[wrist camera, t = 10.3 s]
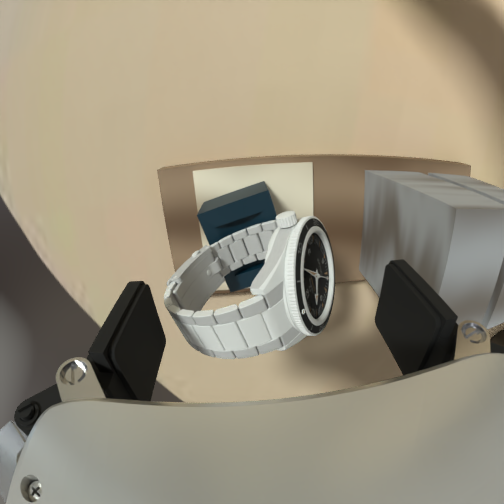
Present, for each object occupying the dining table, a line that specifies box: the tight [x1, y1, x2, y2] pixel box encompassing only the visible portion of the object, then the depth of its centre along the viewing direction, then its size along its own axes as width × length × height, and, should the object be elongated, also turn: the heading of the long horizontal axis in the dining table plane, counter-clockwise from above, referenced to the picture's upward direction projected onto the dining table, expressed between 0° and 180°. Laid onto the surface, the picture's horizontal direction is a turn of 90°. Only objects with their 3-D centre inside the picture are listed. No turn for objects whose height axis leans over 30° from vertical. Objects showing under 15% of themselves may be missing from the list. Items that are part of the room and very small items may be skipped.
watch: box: [164, 181, 335, 359], centre depth 14 cm, size 6×8×11 cm
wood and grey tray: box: [157, 154, 504, 329], centre depth 16 cm, size 10×26×12 cm, turn 94°
